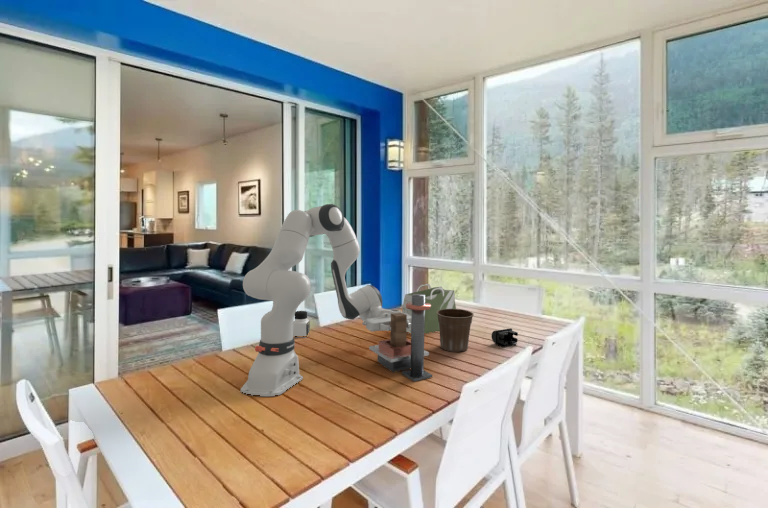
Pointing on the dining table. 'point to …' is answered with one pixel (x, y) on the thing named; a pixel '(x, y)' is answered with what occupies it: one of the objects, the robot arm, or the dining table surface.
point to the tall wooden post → (398, 329)
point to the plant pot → (454, 329)
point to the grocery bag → (432, 305)
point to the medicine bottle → (301, 324)
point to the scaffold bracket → (408, 345)
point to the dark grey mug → (504, 337)
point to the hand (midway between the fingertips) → (400, 327)
